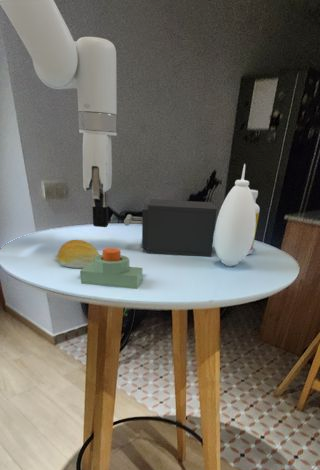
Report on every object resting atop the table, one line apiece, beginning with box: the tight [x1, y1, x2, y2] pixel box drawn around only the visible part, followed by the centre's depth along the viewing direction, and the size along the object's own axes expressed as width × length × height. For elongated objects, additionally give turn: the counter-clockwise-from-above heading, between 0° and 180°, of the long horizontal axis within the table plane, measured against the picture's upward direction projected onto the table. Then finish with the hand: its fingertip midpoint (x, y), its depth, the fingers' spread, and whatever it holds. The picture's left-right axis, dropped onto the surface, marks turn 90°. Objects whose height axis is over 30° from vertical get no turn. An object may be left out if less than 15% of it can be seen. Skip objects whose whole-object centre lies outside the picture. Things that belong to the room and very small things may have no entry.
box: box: [79, 254, 144, 289], centre depth 64 cm, size 10×6×4 cm, turn 82°
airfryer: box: [146, 198, 218, 258], centre depth 84 cm, size 15×10×10 cm
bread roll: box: [56, 239, 100, 269], centre depth 73 cm, size 8×9×4 cm
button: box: [102, 247, 121, 261], centre depth 63 cm, size 3×3×2 cm
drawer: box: [123, 203, 149, 249], centre depth 84 cm, size 18×9×8 cm, turn 89°
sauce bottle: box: [213, 163, 256, 267], centre depth 72 cm, size 8×8×18 cm
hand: (100, 225), depth 84 cm, fingers closed
